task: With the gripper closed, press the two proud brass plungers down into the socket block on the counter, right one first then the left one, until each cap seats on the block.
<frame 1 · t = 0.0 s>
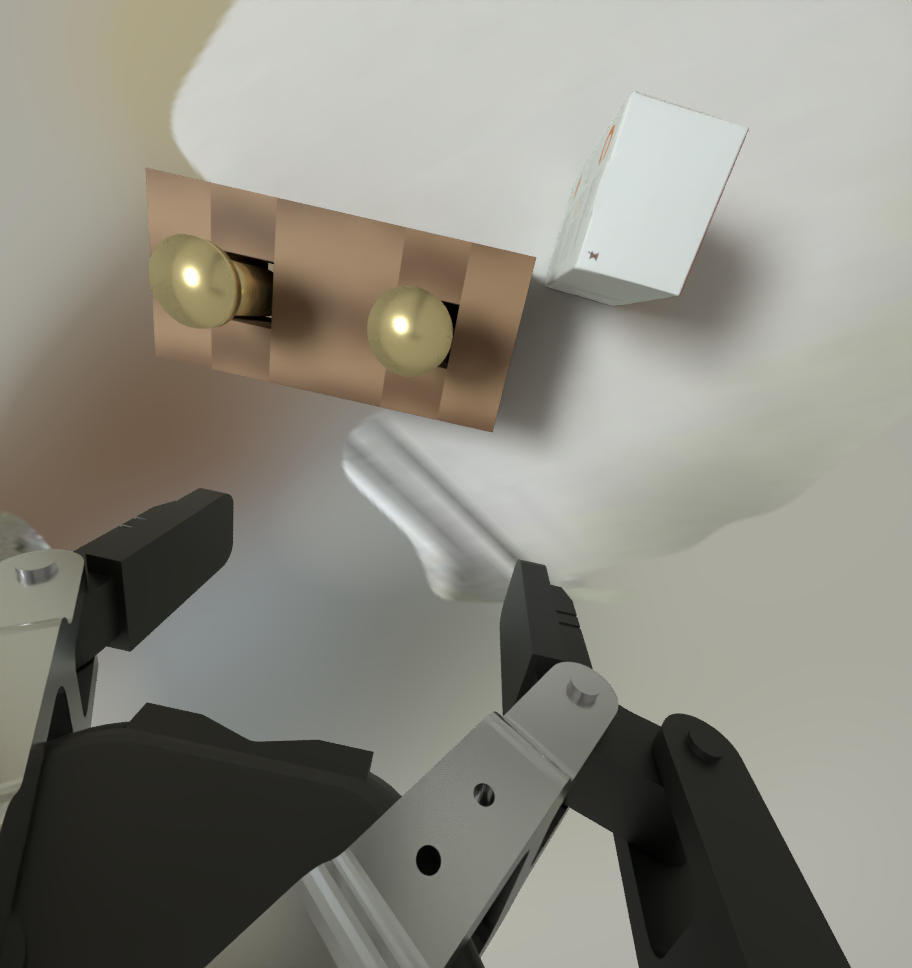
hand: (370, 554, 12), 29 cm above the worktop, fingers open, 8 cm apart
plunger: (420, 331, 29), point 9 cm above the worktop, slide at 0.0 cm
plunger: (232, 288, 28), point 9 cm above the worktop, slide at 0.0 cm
socket block: (363, 312, 37), on the worktop
small box: (595, 244, 34), on the worktop
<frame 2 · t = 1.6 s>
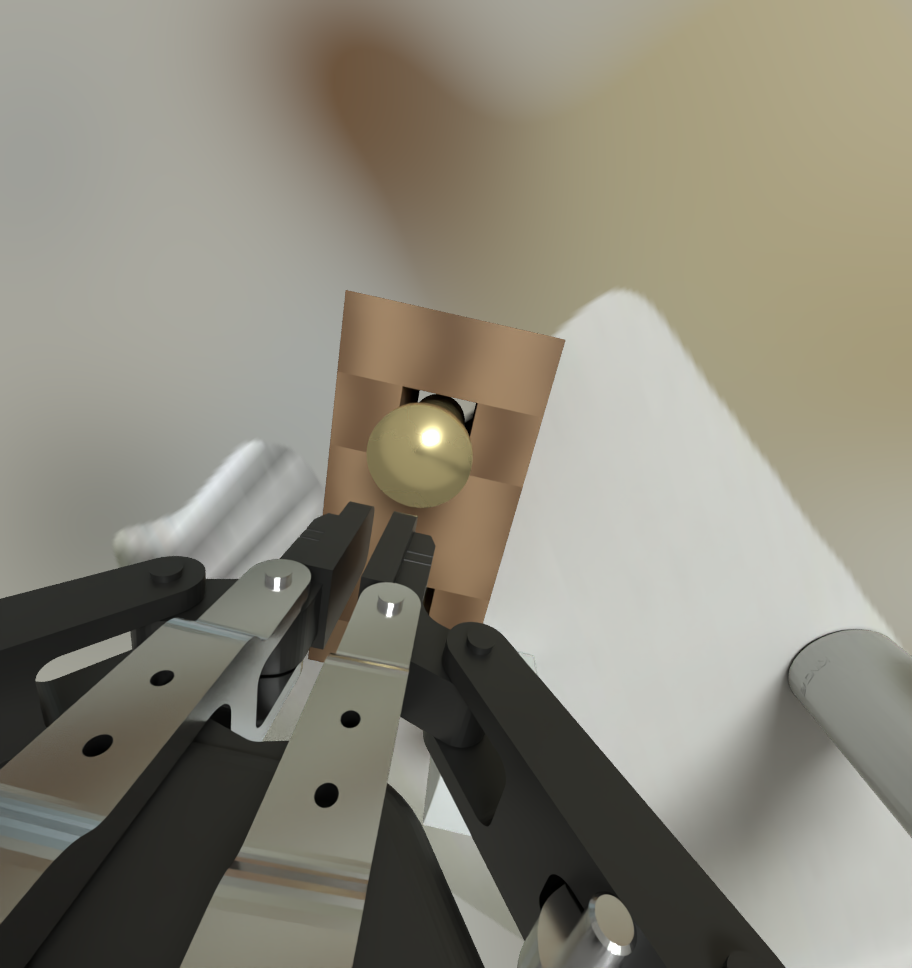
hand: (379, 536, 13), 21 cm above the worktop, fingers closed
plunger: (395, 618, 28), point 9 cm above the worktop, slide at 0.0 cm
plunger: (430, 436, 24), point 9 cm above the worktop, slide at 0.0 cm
socket block: (430, 482, 35), on the worktop
small box: (486, 667, 42), on the worktop
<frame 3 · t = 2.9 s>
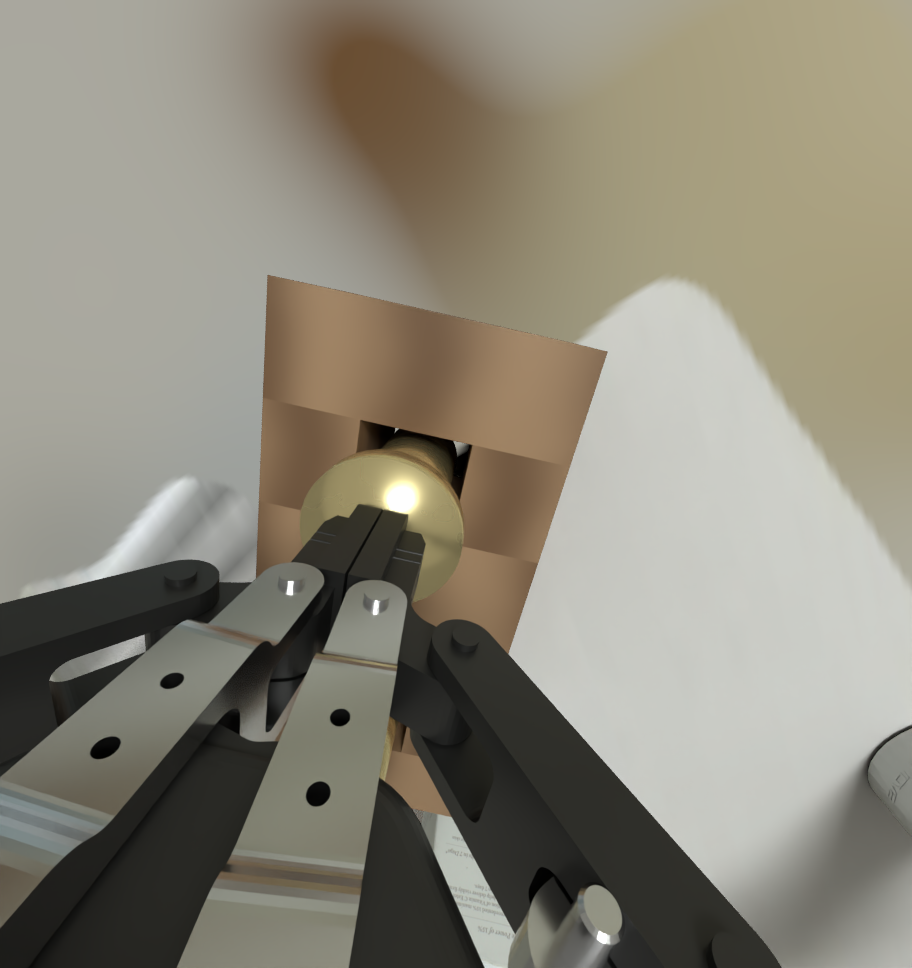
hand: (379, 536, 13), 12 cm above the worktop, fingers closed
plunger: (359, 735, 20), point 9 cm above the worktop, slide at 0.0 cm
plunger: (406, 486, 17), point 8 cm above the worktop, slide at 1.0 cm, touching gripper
socket block: (413, 532, 27), on the worktop
small box: (486, 751, 34), on the worktop
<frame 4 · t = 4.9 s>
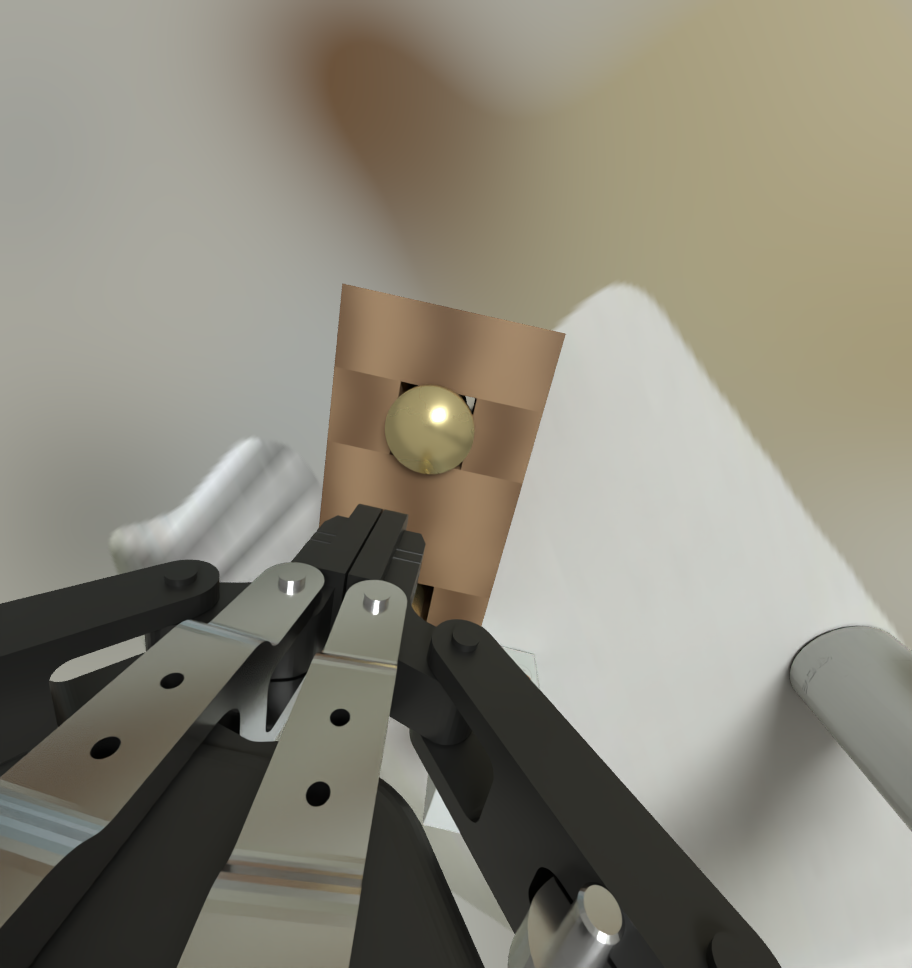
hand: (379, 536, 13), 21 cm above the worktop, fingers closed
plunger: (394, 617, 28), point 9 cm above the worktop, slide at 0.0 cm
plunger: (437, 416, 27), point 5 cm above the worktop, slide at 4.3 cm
socket block: (429, 480, 34), on the worktop
small box: (486, 666, 41), on the worktop
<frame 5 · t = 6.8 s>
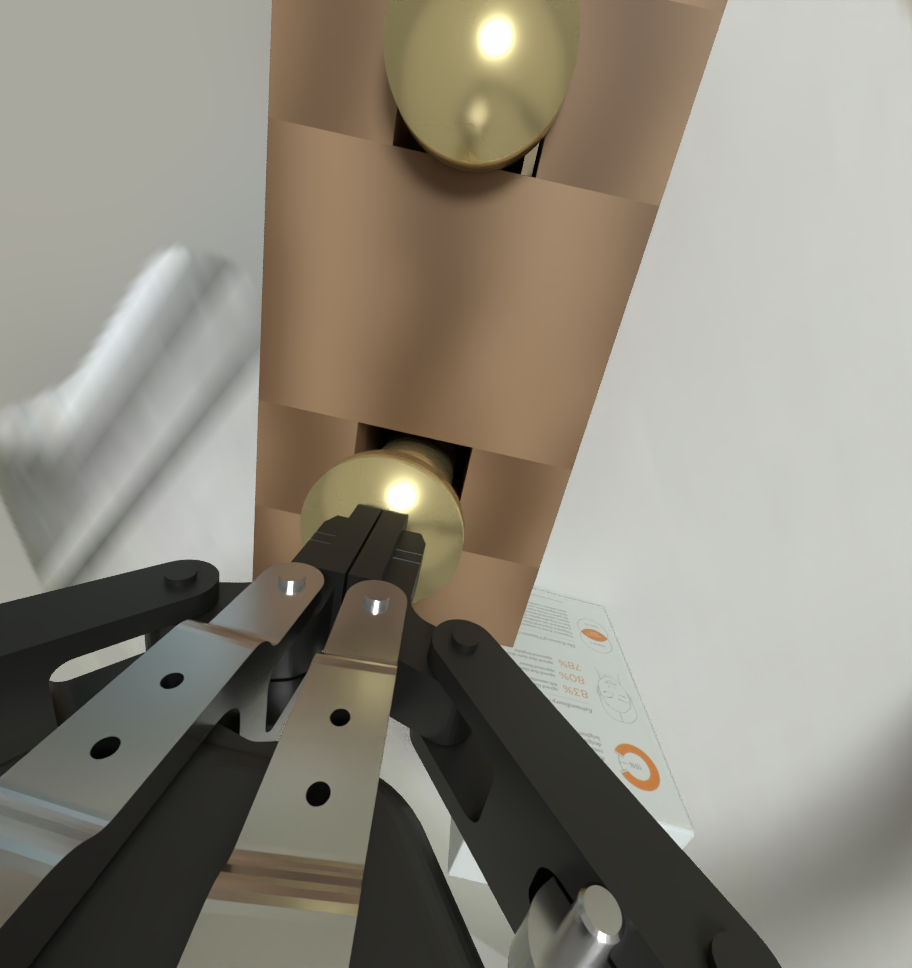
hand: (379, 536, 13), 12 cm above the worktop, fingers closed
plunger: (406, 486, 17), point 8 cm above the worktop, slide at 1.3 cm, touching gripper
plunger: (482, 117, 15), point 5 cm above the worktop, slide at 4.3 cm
socket block: (455, 316, 22), on the worktop
small box: (531, 626, 28), on the worktop
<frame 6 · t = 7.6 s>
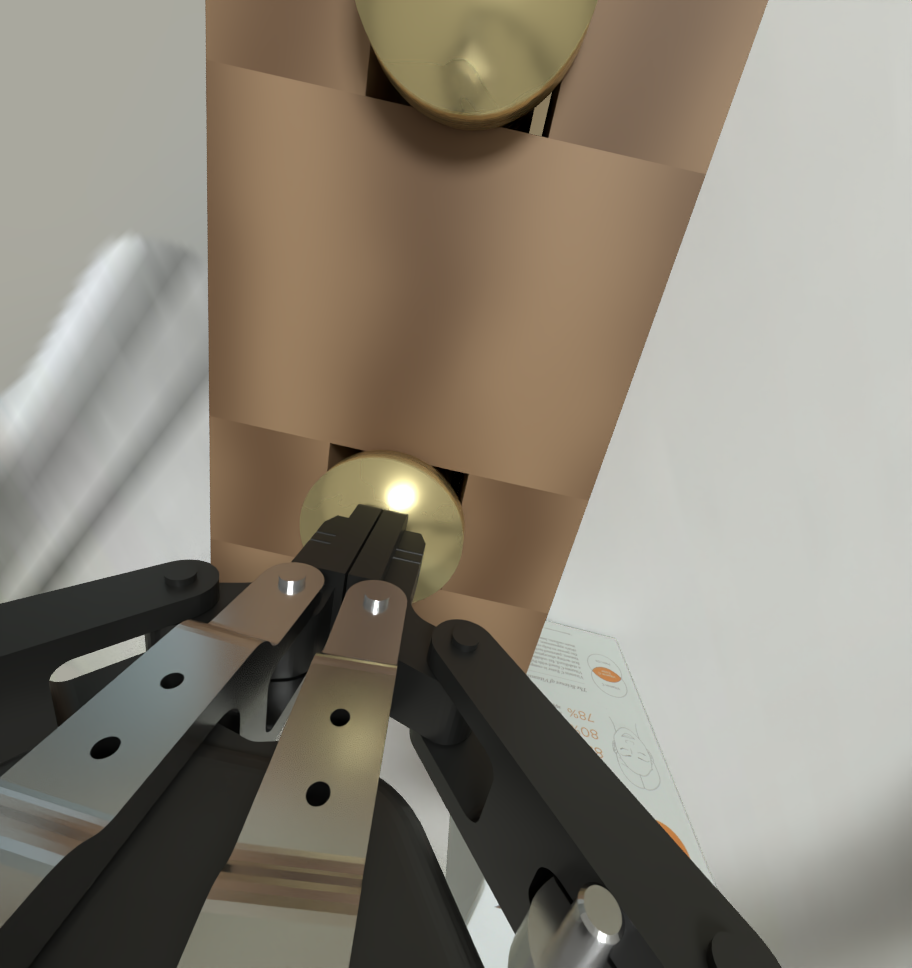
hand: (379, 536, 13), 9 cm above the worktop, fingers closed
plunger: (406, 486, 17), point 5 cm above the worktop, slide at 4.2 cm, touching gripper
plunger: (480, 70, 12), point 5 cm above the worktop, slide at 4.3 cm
socket block: (449, 315, 19), on the worktop
small box: (534, 657, 26), on the worktop
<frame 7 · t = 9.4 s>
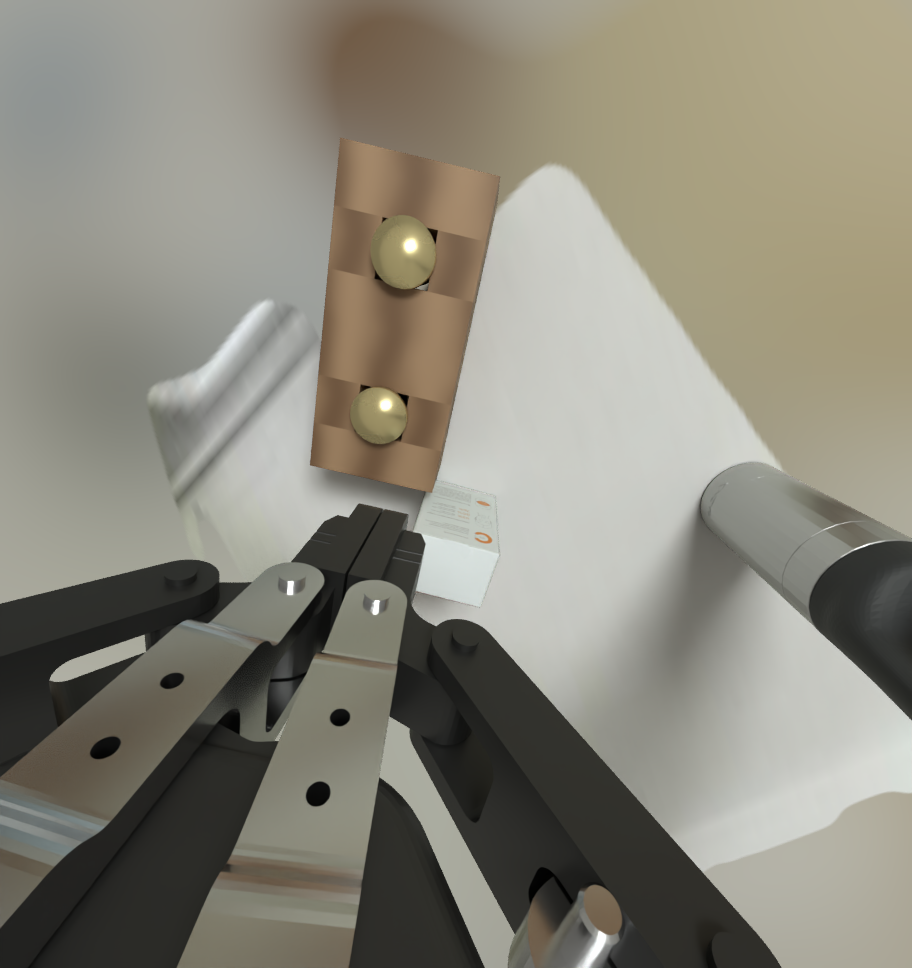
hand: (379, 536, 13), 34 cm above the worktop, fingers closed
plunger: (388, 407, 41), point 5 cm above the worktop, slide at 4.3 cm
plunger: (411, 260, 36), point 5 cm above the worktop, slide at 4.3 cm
socket block: (408, 336, 43), on the worktop
small box: (456, 509, 50), on the worktop
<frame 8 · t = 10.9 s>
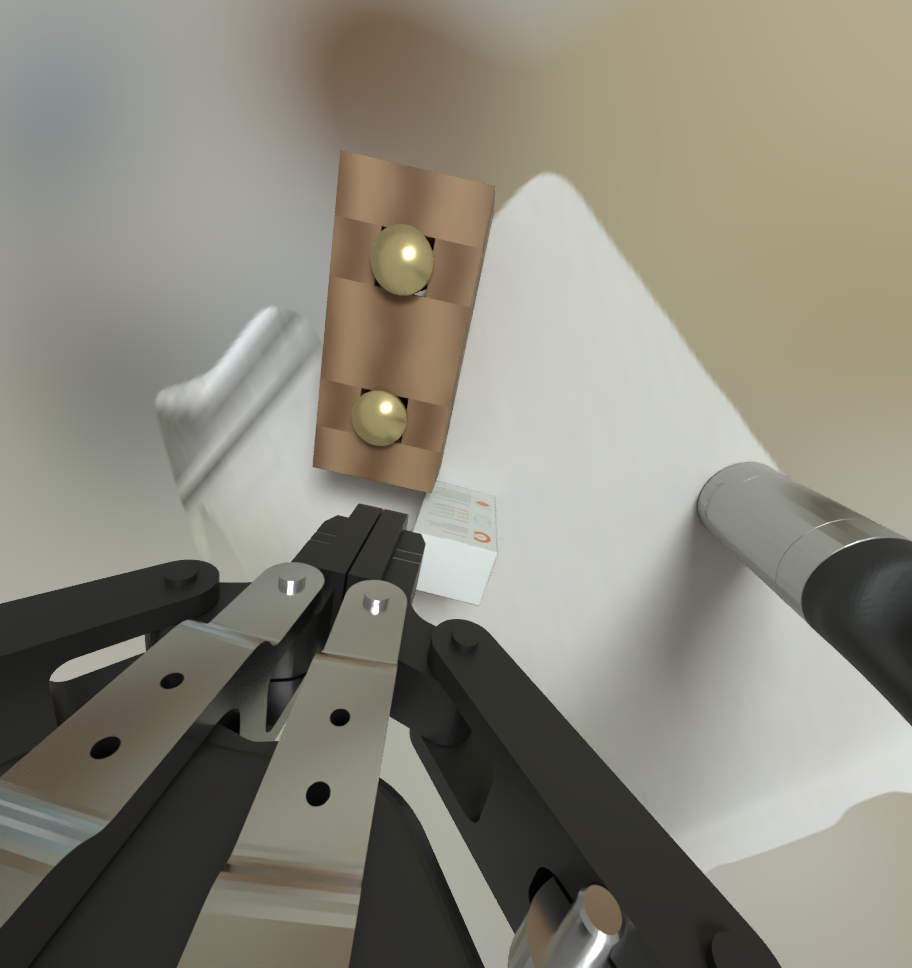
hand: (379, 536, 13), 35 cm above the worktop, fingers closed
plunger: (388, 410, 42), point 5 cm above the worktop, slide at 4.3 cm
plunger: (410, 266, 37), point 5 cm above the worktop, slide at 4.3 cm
socket block: (408, 340, 44), on the worktop
small box: (456, 510, 51), on the worktop
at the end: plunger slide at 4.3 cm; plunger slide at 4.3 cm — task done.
